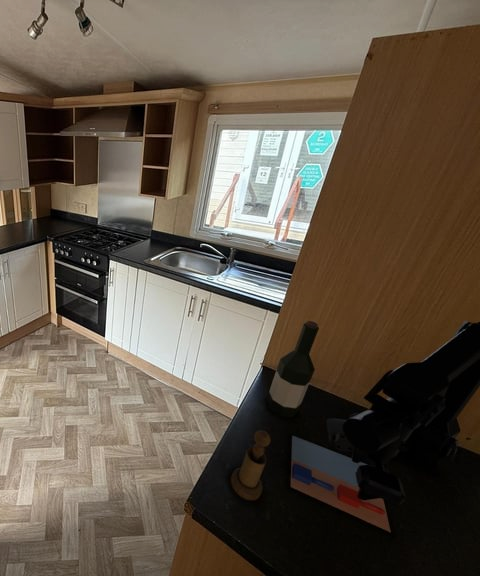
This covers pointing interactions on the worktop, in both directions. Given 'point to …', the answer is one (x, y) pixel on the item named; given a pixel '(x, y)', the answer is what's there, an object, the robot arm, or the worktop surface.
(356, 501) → the red spoon
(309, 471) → the blue spoon
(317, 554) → the worktop surface
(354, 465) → the sorting board
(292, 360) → the wine bottle
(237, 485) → the mortar and pestle
